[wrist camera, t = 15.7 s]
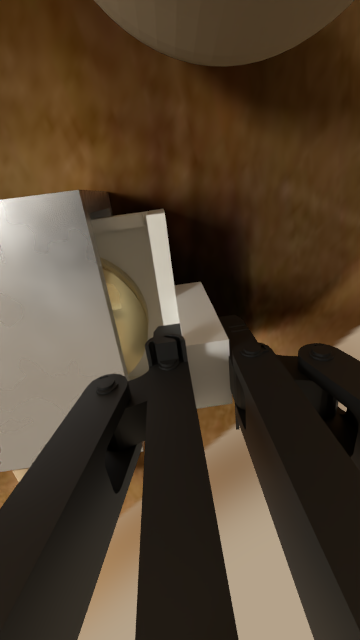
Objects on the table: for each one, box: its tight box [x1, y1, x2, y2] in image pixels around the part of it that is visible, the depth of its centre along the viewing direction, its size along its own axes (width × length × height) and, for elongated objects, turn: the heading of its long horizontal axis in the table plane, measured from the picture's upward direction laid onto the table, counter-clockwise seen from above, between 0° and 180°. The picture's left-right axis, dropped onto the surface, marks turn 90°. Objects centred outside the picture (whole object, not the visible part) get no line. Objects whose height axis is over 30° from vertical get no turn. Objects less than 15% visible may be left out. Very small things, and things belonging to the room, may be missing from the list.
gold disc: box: [100, 257, 149, 374], centre depth 16 cm, size 8×8×2 cm
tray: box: [91, 209, 179, 381], centre depth 16 cm, size 15×11×4 cm
